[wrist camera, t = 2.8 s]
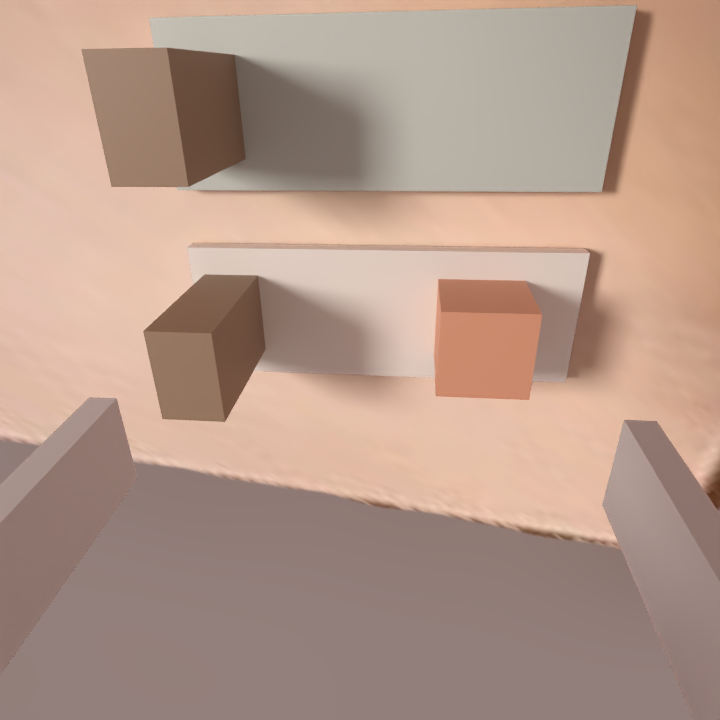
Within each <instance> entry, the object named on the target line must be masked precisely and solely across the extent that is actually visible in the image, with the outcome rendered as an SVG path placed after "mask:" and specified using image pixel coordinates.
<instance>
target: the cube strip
mask: <svg viewBox="0 0 720 720" xmlns="http://www.w3.org/2000/svg"><path fill="white" fill-rule="evenodd" d="M187 250H188V256H189V262H190V268H191V275H192V281H193V286H192V287H191V288H189V289H188V290H187V291H186V292H185V293H184V294H183V295H182V296H181V297H180V298H179V299H178V300H177V301H175V302H174V303H173V304H172V305H171V306H170V307H169V308H168V309H167V310H166V311H165V312H164V313H163V314H162V315H160V316H159V317H158V318H157V319H156V320H155V321H154V322H153V323H152V324H151V325H150V326H149V327H148V328H146V329H145V330H144V331H143V332H144V336H145V341H146V345H147V350H148V355H149V359H150V364H151V368H152V373H153V377H154V382H155V387H156V391H157V396H158V400H159V405H160V409H161V414H162V418H163V419H176V420H198V421H220V422H225V421H226V419H227V417H228V415H229V414H230V412H231V410H232V408H233V407H234V405H235V403H236V401H237V399H238V398H239V396H240V394H241V392H242V391H243V389H244V387H245V385H246V383H247V382H248V380H249V378H250V376H251V374H252V373H253V371H263V372H291V373H318V374H346V375H373V376H401V377H428V378H435V367H434V344H435V326H436V308H437V290H438V279H464V280H515V281H526V283H527V285H528V287H529V289H530V291H531V293H532V295H533V297H534V299H535V301H536V303H537V305H538V307H539V309H540V311H541V313H542V320H541V327H540V333H539V339H538V346H537V352H536V359H535V365H534V372H533V378H532V381H538V382H566V378H567V373H568V368H569V362H570V357H571V352H572V347H573V341H574V336H575V331H576V325H577V320H578V315H579V309H580V304H581V299H582V294H583V288H584V283H585V278H586V272H587V267H588V262H589V257H590V253H589V252H588V251H587V250H586V249H585V248H521V247H450V246H379V245H309V244H238V243H192V244H191V245H190V246H188V247H187Z"/></svg>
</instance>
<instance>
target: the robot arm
mask: <svg viewBox="0 0 720 720" xmlns="http://www.w3.org/2000/svg"><path fill="white" fill-rule="evenodd" d="M136 480H137V475H136V471H135V467H134V463H133V459H132V456H131V452H130V448H129V444H128V440H127V436H126V433H125V429H124V425H123V421H122V417H121V414H120V410H119V406H118V402H117V399H115V398H92V397H89V398H88V399H87V400H86V401H85V402H84V403H83V404H82V405H81V406H80V407H79V408H78V409H77V410H76V411H75V412H74V413H73V414H72V415H71V416H70V417H69V418H68V419H67V420H66V421H65V422H64V423H63V424H62V425H61V426H60V427H59V428H58V429H57V430H56V431H55V432H54V433H53V434H52V435H51V436H50V437H49V438H48V439H47V440H46V441H45V442H44V443H42V444H41V445H40V446H39V448H37V449H36V450H35V451H34V453H32V454H31V455H30V456H29V457H28V458H27V459H26V460H25V461H24V462H23V463H22V464H21V465H20V466H19V467H18V468H17V469H16V470H15V471H14V472H13V473H12V474H11V475H10V476H9V477H8V478H7V479H6V480H5V481H4V482H3V483H2V484H1V485H0V675H1V674H2V672H3V671H4V669H5V668H6V667H7V665H8V664H9V662H10V661H11V659H12V658H13V657H14V655H15V654H16V652H17V651H18V649H19V648H20V647H21V645H22V644H23V642H24V641H25V639H26V638H27V637H28V635H29V634H30V632H31V631H32V629H33V628H34V627H35V625H36V624H37V622H38V621H39V619H40V618H41V616H42V615H43V614H44V612H45V611H46V609H47V608H48V606H49V605H50V603H51V602H52V600H53V599H54V598H55V596H56V595H57V594H58V592H59V590H60V589H61V588H62V586H63V585H64V584H65V582H66V581H67V579H68V578H69V576H70V575H71V573H72V572H73V570H74V569H75V568H76V566H77V565H78V563H79V562H80V561H81V559H82V558H83V556H84V555H85V553H86V552H87V551H88V549H89V548H90V546H91V545H92V543H93V542H94V541H95V539H96V537H97V536H98V535H99V533H100V532H101V530H102V529H103V528H104V526H105V525H106V523H107V522H108V520H109V519H110V517H111V516H112V515H113V513H114V512H115V510H116V509H117V508H118V506H119V505H120V503H121V502H122V500H123V499H124V497H125V496H126V495H127V493H128V492H129V490H130V489H131V487H132V486H133V485H134V483H135V482H136ZM603 507H604V510H605V512H606V515H607V517H608V519H609V522H610V524H611V526H612V529H613V531H614V533H615V536H616V538H617V541H618V543H619V545H620V548H621V550H622V552H623V555H624V557H625V559H626V562H627V564H628V566H629V569H630V571H631V574H632V576H633V578H634V581H635V583H636V585H637V588H638V590H639V593H640V595H641V597H642V600H643V602H644V604H645V607H646V609H647V611H648V614H649V616H650V619H651V621H652V623H653V626H654V628H655V630H656V633H657V635H658V637H659V640H660V642H661V645H662V647H663V649H664V652H665V654H666V656H667V659H668V661H669V663H670V666H671V668H672V671H673V673H674V675H675V678H676V680H677V682H678V685H679V687H680V689H681V692H682V694H683V697H684V699H685V701H686V704H687V706H688V708H689V711H690V713H691V715H692V718H693V720H720V513H719V512H718V511H717V509H716V508H715V506H714V505H713V503H712V502H711V500H710V499H709V497H708V496H707V494H706V493H705V491H704V490H703V489H702V487H701V486H700V484H699V483H698V481H697V480H696V478H695V477H694V475H693V474H692V472H691V471H690V469H689V468H688V467H687V465H686V464H685V462H684V461H683V459H682V458H681V456H680V455H679V453H678V452H677V450H676V449H675V447H674V446H673V445H672V443H671V442H670V440H669V439H668V437H667V436H666V434H665V433H664V431H663V430H662V428H661V427H660V425H659V424H658V422H657V421H638V420H624V423H623V427H622V431H621V434H620V438H619V442H618V446H617V450H616V454H615V458H614V462H613V466H612V470H611V473H610V477H609V481H608V485H607V489H606V493H605V497H604V501H603Z"/></svg>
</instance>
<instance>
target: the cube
mask: <svg viewBox="0 0 720 720" xmlns="http://www.w3.org/2000/svg"><path fill="white" fill-rule="evenodd" d="M541 320H542V313H541V311H540V309H539V307H538V305H537V303H536V301H535V299H534V297H533V295H532V293H531V291H530V289H529V287H528V285H527V283H526V281H515V280H464V279H438V290H437V308H436V326H435V344H434V367H435V388H436V396H444V397H470V398H495V399H520V400H529V397H530V391H531V385H532V378H533V372H534V365H535V359H536V352H537V346H538V339H539V333H540V327H541Z"/></svg>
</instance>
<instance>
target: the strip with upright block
mask: <svg viewBox="0 0 720 720" xmlns="http://www.w3.org/2000/svg"><path fill="white" fill-rule="evenodd" d="M636 8H637V5H625V6H586V7H548V8H509V9H470V10H431V11H392V12H354V13H315V14H276V15H237V16H198V17H160V18H149V20H150V26H151V32H152V38H153V44H154V48H120V49H82V54H83V58H84V63H85V67H86V72H87V76H88V81H89V86H90V90H91V95H92V99H93V104H94V108H95V113H96V118H97V122H98V127H99V131H100V136H101V140H102V145H103V149H104V154H105V159H106V163H107V168H108V172H109V177H110V181H111V186H112V187H177V190H267V191H473V192H602V188H603V182H604V177H605V172H606V167H607V161H608V156H609V151H610V145H611V140H612V135H613V129H614V124H615V119H616V114H617V108H618V103H619V98H620V92H621V87H622V82H623V76H624V71H625V66H626V61H627V55H628V50H629V45H630V39H631V34H632V29H633V24H634V18H635V13H636Z"/></svg>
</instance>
